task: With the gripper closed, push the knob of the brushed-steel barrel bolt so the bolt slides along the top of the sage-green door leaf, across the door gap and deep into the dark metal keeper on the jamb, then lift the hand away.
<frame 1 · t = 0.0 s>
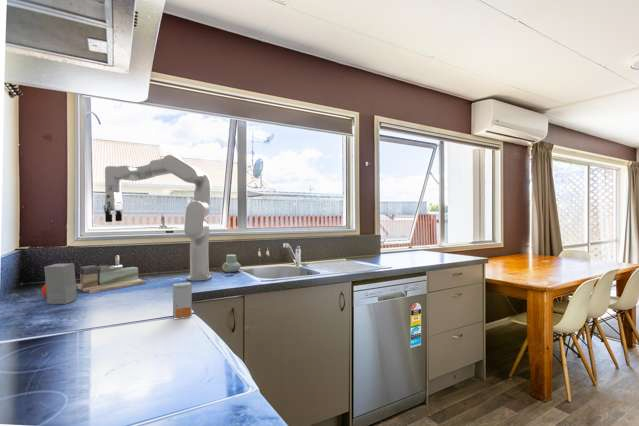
hand: (113, 221, 189), 31 cm above the countertop, tool pointing down, fingers open, 9 cm apart
bolt: (110, 262, 175), point 11 cm above the countertop, slide at 0.0 cm
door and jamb: (111, 285, 175), on the countertop
skincare box 2: (182, 317, 126), on the countertop
clementine: (51, 298, 152), on the countertop
skincare box: (61, 302, 145), on the countertop
air freshener: (231, 272, 212), on the countertop
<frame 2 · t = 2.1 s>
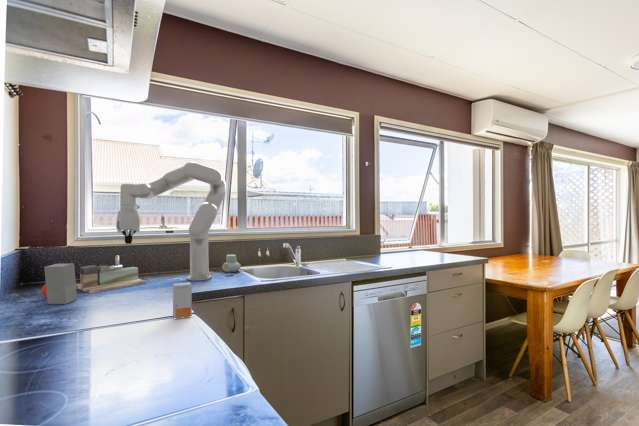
hand: (128, 243, 182), 20 cm above the countertop, tool pointing down, fingers closed
nothing on the countertop moved.
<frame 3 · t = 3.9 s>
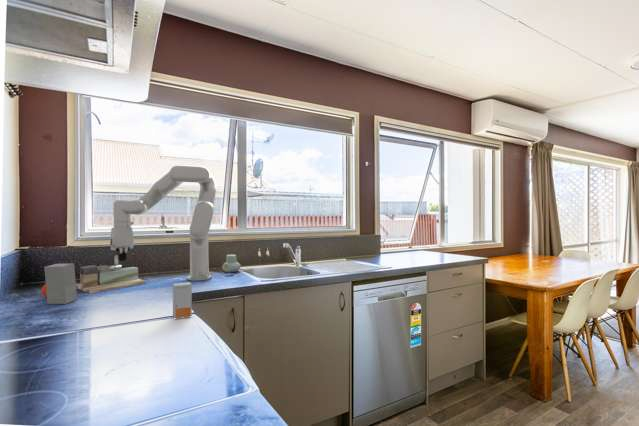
hand: (122, 260, 179), 12 cm above the countertop, tool pointing down, fingers closed
bolt: (110, 263, 174), point 11 cm above the countertop, slide at 0.4 cm, touching gripper
everything else where it was.
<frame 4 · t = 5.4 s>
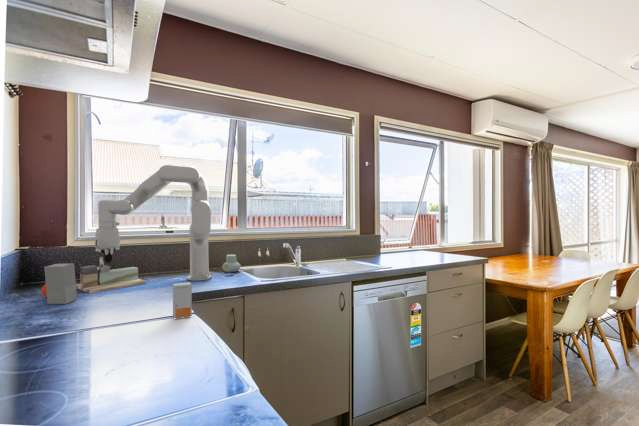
hand: (108, 262, 174), 12 cm above the countertop, tool pointing down, fingers closed
bolt: (94, 264, 169), point 11 cm above the countertop, slide at 7.1 cm, touching gripper
everything else where it was.
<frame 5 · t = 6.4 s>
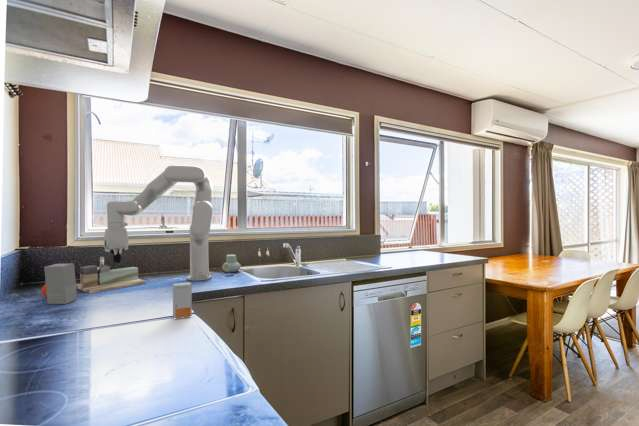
hand: (117, 262, 177), 11 cm above the countertop, tool pointing down, fingers closed
bolt: (95, 264, 169), point 11 cm above the countertop, slide at 7.0 cm
everything else where it was.
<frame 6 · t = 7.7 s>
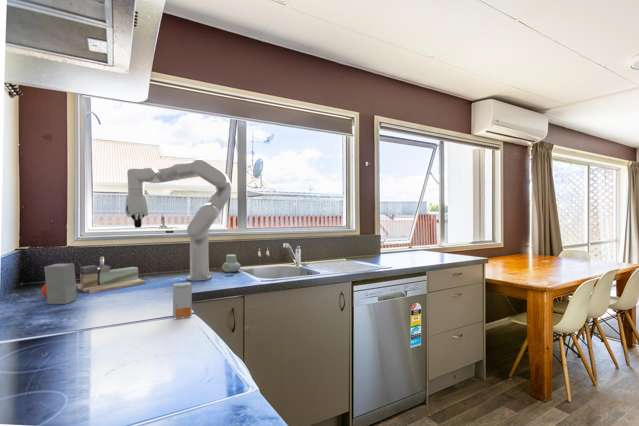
hand: (138, 227, 185), 28 cm above the countertop, tool pointing down, fingers closed
nothing on the countertop moved.
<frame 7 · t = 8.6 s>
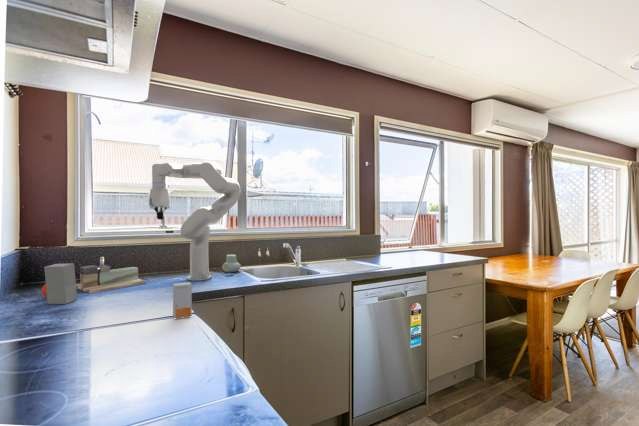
hand: (160, 219, 196), 32 cm above the countertop, tool pointing down, fingers closed
nothing on the countertop moved.
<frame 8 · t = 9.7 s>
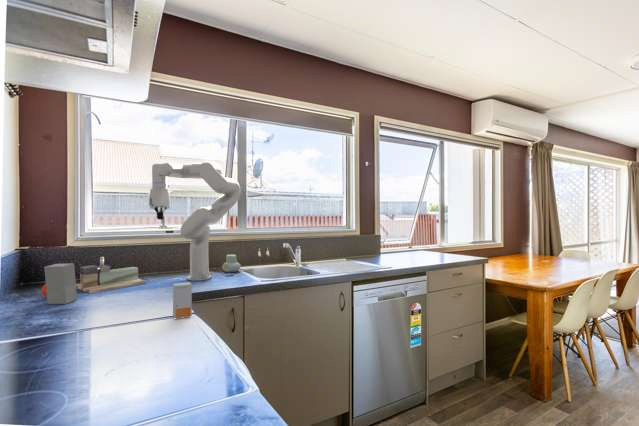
hand: (160, 219, 197), 32 cm above the countertop, tool pointing down, fingers closed
nothing on the countertop moved.
at the end: bolt slide at 7.0 cm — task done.
